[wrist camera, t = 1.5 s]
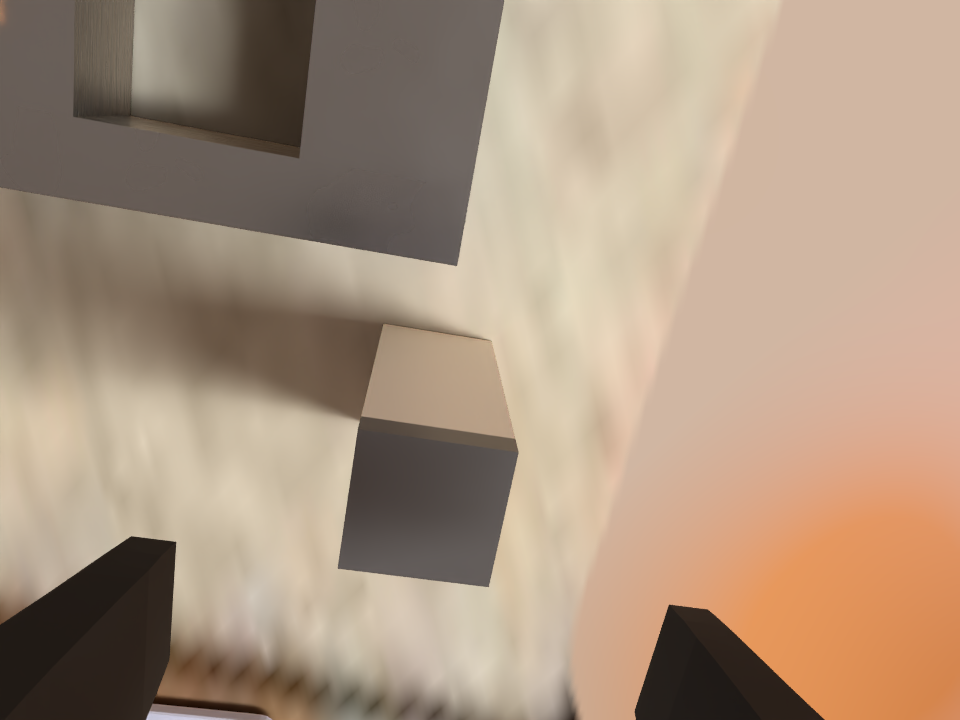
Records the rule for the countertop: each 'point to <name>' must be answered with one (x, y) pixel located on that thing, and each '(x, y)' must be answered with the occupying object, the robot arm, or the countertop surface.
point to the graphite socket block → (257, 163)
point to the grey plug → (430, 461)
